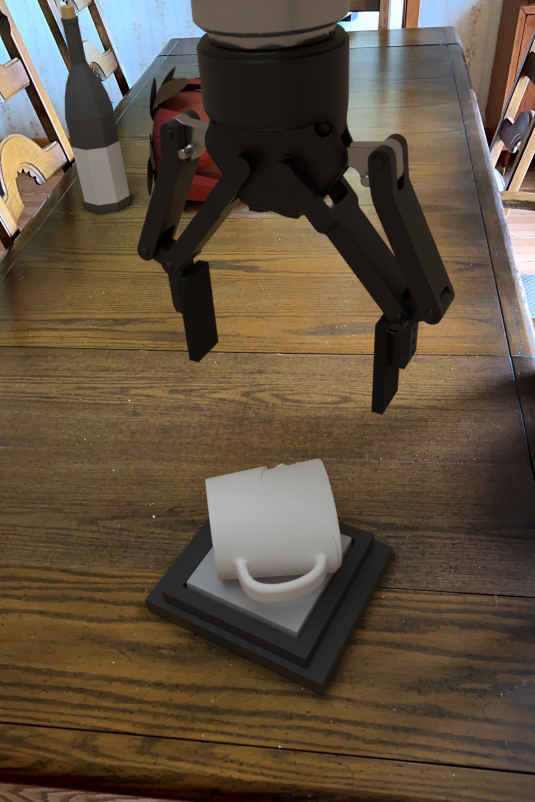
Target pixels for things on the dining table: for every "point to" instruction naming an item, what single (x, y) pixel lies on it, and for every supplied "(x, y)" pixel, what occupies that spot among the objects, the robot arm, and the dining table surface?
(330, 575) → the grey tile on plinth
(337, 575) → the black stepped plinth
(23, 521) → the dining table surface
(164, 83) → the decorative flower
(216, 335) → the robot arm
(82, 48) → the wine bottle
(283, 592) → the mug
